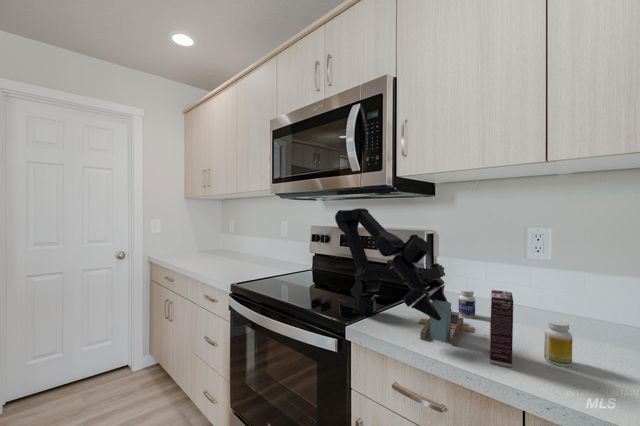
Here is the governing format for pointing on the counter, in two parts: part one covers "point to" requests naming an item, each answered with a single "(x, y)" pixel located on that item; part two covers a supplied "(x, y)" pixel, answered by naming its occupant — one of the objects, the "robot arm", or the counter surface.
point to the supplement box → (501, 328)
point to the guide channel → (457, 325)
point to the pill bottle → (467, 303)
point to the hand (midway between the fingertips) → (445, 315)
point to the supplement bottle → (558, 343)
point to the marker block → (441, 321)
